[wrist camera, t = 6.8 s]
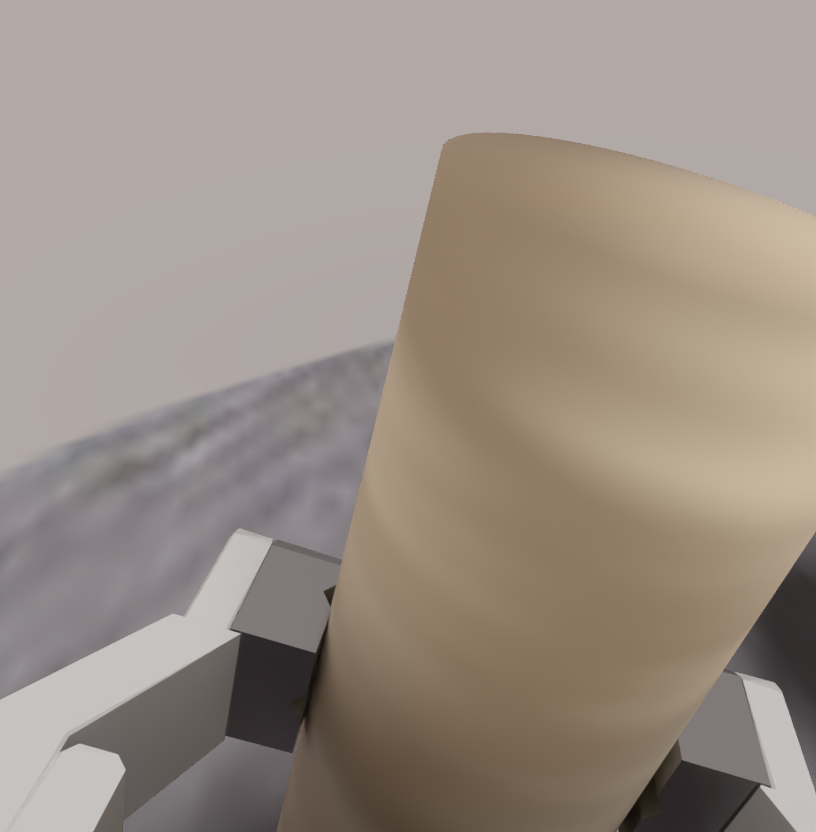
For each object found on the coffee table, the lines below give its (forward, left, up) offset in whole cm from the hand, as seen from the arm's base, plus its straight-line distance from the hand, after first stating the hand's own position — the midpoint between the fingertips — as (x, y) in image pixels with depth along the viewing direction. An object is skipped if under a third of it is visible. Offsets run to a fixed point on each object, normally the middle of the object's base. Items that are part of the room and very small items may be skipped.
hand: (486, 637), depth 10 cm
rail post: (0, +1, -6) cm, 6 cm away
